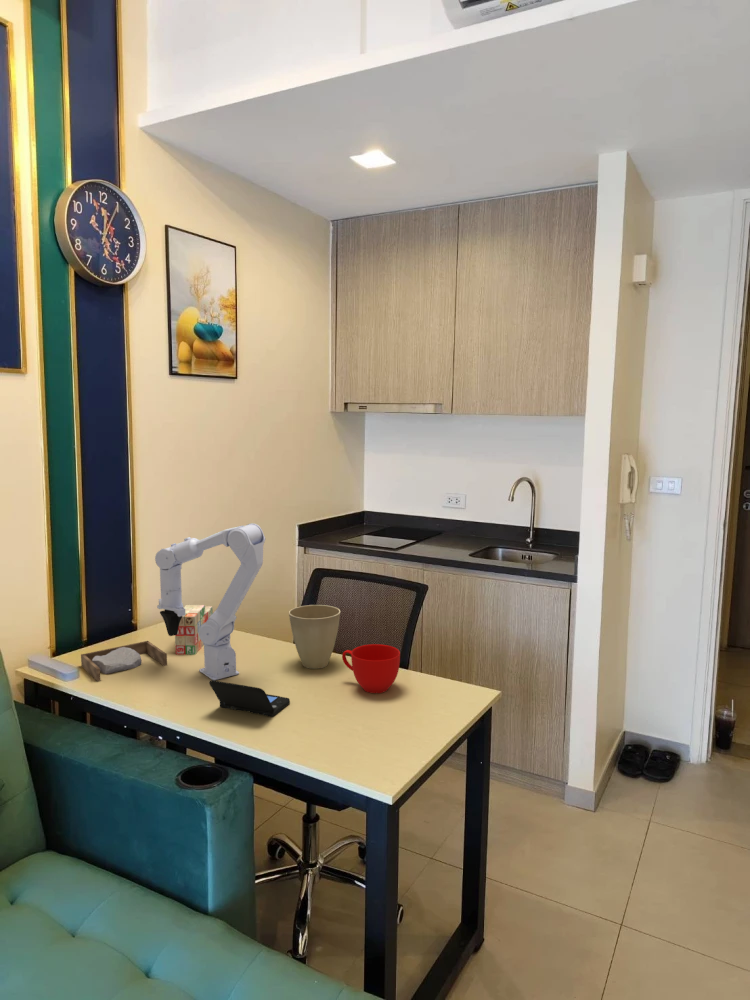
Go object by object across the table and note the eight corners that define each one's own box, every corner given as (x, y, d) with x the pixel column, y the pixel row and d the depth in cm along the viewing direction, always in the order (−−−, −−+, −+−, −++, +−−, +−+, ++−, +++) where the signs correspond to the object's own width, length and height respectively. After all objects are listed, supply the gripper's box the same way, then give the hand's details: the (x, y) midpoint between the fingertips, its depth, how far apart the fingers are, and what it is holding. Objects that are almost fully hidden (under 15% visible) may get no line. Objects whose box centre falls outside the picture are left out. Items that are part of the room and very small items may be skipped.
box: (167, 665, 199) (166, 653, 198) (97, 681, 187) (96, 669, 186) (148, 651, 210) (147, 640, 210) (81, 666, 198) (80, 654, 198)
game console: (292, 703, 173) (291, 669, 172) (263, 726, 161) (262, 689, 160) (239, 694, 179) (239, 660, 178) (208, 715, 167) (207, 679, 165)
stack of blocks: (195, 632, 229) (194, 597, 228) (213, 633, 229) (212, 597, 227) (175, 655, 208) (174, 615, 206) (195, 655, 208) (194, 615, 206)
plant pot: (351, 664, 200) (351, 611, 198) (312, 678, 190) (312, 622, 188) (317, 651, 210) (316, 601, 208) (279, 664, 200) (278, 611, 198)
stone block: (145, 670, 200) (125, 656, 206) (146, 655, 199) (126, 642, 205) (108, 684, 191) (88, 669, 197) (109, 669, 190) (89, 654, 195)
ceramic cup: (355, 673, 193) (355, 638, 192) (408, 685, 185) (408, 649, 183) (329, 688, 182) (329, 652, 181) (384, 702, 174) (384, 664, 172)
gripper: (147, 586, 198) (149, 631, 200) (167, 596, 187) (169, 644, 189) (171, 582, 203) (172, 626, 204) (191, 592, 191) (193, 639, 193)
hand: (172, 634), depth 197 cm, fingers closed
